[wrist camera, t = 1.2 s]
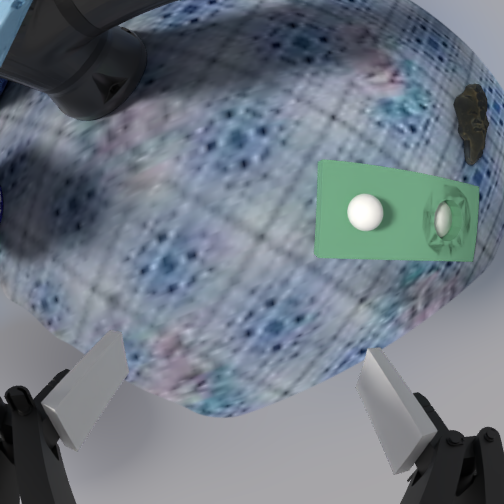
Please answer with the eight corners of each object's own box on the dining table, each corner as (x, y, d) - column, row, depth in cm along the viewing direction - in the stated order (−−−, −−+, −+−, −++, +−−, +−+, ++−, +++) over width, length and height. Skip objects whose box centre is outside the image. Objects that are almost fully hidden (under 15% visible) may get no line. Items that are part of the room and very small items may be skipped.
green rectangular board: (313, 253, 32) (318, 257, 30) (317, 162, 30) (322, 159, 28) (463, 258, 32) (472, 261, 30) (468, 186, 30) (479, 187, 27)
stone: (450, 157, 30) (472, 154, 24) (448, 81, 27) (467, 72, 22) (477, 170, 30) (499, 170, 24) (475, 98, 27) (495, 91, 22)
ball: (343, 192, 29) (355, 191, 25) (375, 195, 28) (390, 195, 25) (341, 227, 29) (353, 232, 25) (373, 229, 29) (388, 234, 25)
